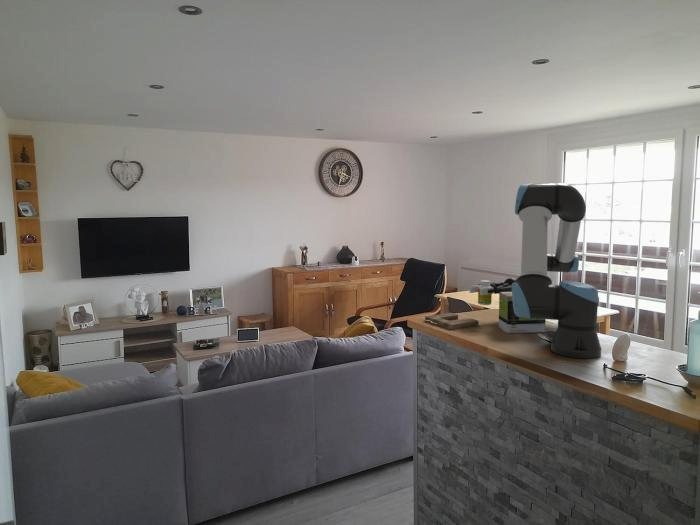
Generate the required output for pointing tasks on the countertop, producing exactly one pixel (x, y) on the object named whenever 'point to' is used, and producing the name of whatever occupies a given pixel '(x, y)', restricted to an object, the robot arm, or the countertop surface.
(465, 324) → the u-shaped block
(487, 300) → the supplement bottle
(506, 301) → the tea box
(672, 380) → the countertop surface
